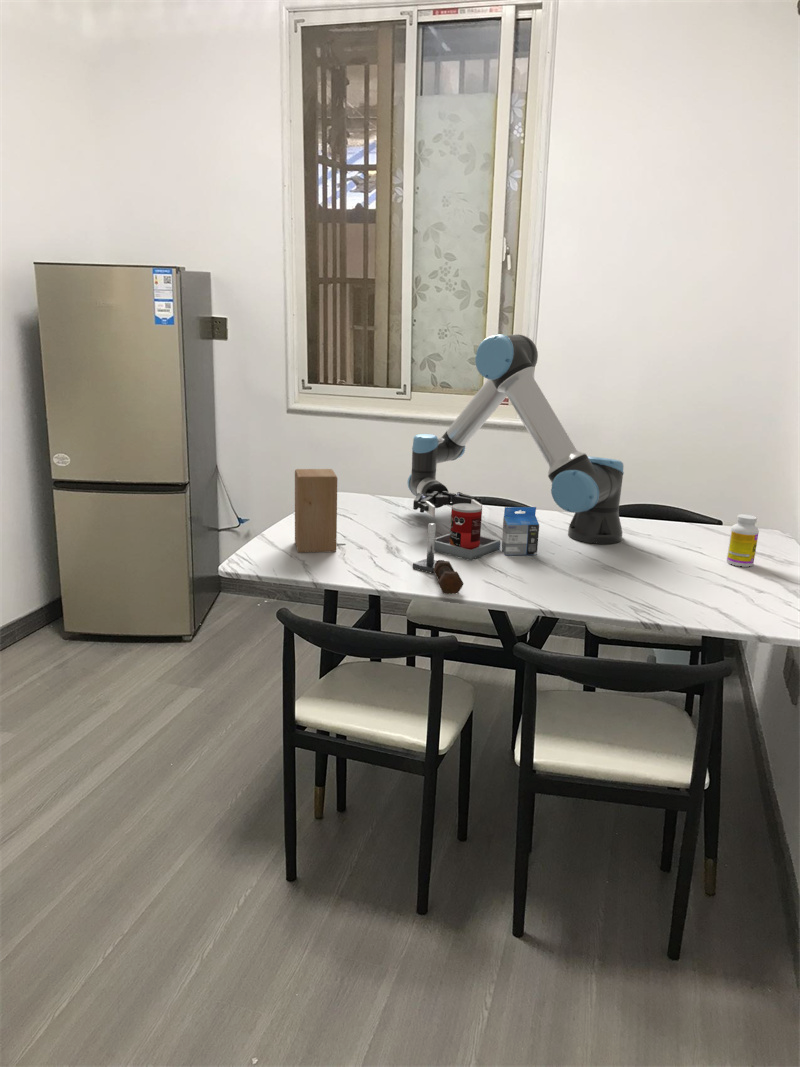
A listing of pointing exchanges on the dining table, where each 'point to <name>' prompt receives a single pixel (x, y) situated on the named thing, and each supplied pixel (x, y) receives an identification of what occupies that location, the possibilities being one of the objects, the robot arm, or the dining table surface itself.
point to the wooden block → (315, 510)
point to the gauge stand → (428, 552)
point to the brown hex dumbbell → (447, 577)
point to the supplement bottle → (743, 541)
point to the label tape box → (520, 531)
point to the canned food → (465, 525)
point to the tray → (484, 548)
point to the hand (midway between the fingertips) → (457, 510)
